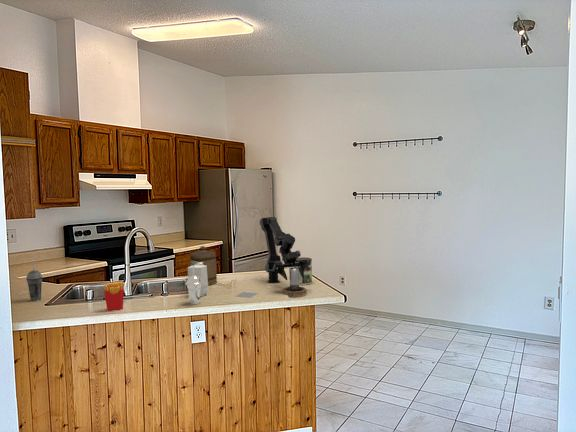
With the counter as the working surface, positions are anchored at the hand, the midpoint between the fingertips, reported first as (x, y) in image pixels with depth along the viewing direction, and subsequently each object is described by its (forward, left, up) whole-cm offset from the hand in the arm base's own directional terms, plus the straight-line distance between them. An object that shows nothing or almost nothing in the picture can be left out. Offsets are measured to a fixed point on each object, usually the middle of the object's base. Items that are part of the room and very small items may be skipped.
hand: (295, 278), depth 227 cm
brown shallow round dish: (-1, 0, -8) cm, 8 cm away
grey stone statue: (+1, -51, -9) cm, 52 cm away
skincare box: (-14, -49, -9) cm, 52 cm away
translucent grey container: (-40, -45, -9) cm, 61 cm away
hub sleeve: (-1, 0, -8) cm, 8 cm away
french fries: (+1, -88, -9) cm, 89 cm away
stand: (-3, -25, -8) cm, 27 cm away
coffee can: (-24, +11, -9) cm, 28 cm away
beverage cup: (-28, -131, -9) cm, 134 cm away
